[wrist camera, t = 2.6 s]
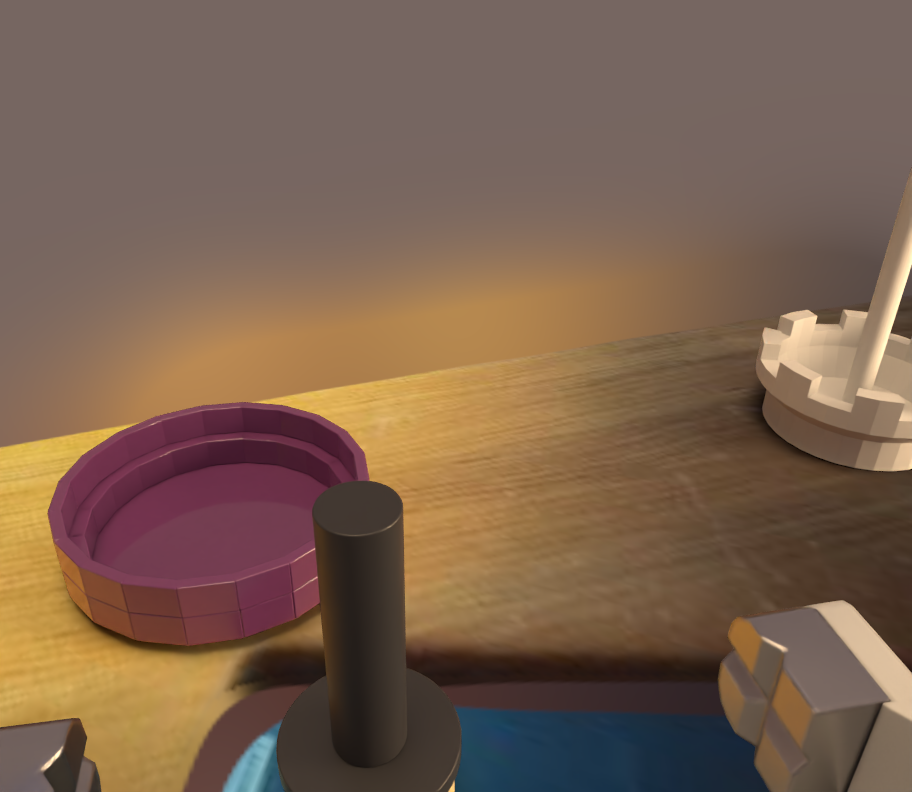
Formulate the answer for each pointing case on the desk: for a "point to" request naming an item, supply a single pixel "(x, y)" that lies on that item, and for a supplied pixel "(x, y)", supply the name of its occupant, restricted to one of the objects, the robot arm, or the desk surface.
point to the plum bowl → (200, 521)
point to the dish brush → (366, 664)
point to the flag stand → (847, 373)
